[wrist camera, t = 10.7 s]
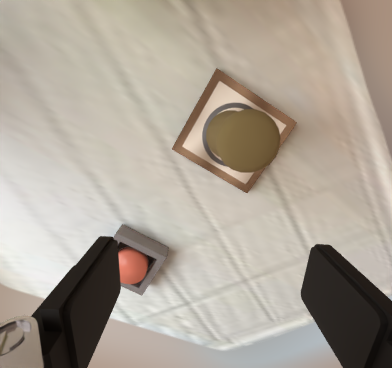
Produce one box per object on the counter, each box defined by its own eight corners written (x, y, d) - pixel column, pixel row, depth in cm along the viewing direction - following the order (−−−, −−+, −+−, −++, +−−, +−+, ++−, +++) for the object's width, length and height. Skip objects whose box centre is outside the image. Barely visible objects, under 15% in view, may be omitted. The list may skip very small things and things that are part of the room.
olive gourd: (209, 162, 27) (217, 187, 17) (202, 114, 26) (207, 108, 15) (255, 155, 27) (293, 176, 16) (252, 106, 25) (292, 94, 15)
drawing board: (172, 147, 28) (171, 149, 27) (215, 70, 26) (217, 67, 24) (245, 190, 30) (247, 194, 28) (292, 122, 27) (298, 122, 26)
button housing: (101, 262, 34) (94, 273, 31) (122, 224, 32) (116, 232, 29) (145, 283, 35) (141, 295, 32) (168, 247, 33) (166, 257, 30)
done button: (109, 266, 32) (104, 274, 30) (123, 240, 31) (119, 247, 29) (139, 280, 33) (136, 289, 31) (154, 256, 31) (152, 264, 30)
